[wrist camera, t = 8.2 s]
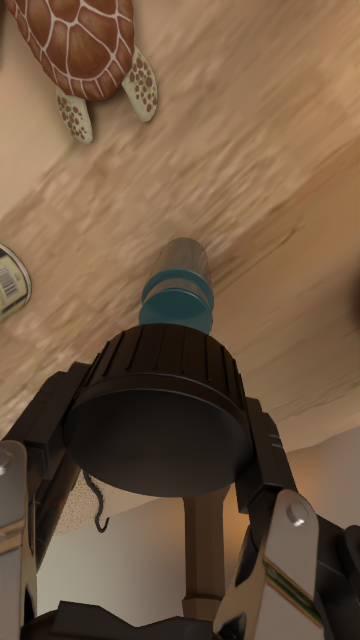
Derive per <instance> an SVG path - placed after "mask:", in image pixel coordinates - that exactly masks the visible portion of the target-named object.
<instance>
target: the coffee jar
mask: <svg viewBox="0 0 360 640" xmlns="http://www.w3.org/2000/svg"><path fill="white" fill-rule="evenodd" d="M213 308H214V296H213V289H212V282H211V276H210V269H209V262H208V256H207V253H206V251H205V249H204V248H203V247H202V246H201V245H200V244H199V243H198V242H197V241H195V240H192V239H189V238H177V239H174V240H172V241H170V242H169V243H167V244H166V245H165V246H164V248H163V249H162V251H161V253H160V255H159V257H158V259H157V261H156V263H155V266H154V268H153V270H152V272H151V274H150V276H149V278H148V280H147V283H146V285H145V287H144V289H143V292H142V307H141V310H140V313H139V324H140V325H143V324H150V323H172V324H179V325H184V326H188V327H191V328H194V329H197V330H199V331H201V332H204V333H206V334H207V335H209V333H210V331H211V328H212V323H213V320H212V311H213Z"/></svg>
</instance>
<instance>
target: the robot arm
mask: <svg viewBox="0 0 360 640" xmlns="http://www.w3.org/2000/svg"><path fill="white" fill-rule="evenodd" d="M90 367H91V365H90V364H85V363H80V362H74V363H73V364H72V366H71V367H70V369H69V370H68V372H67V373H66V372H61V371H58V372H57V373H55V374H54V375H52V376H51V377H49V378H48V379H47V380H46V382H45V383H44V384H43V386H42V387H41V388H40V391H38V392H37V394H36V395H35V397H34V398H33V400H32V401H31V402H30V403H29V405H28V406H27V407H26V409H25V410H24V412H23V413H22V414H21V416H20V417H19V418H18V420H17V421H16V422H15V424H14V425H13V427H12V428H11V429H10V431H9V432H8V433H7V435H6V436H5V437H4V438H3V439H2V440H1V441H0V640H360V605H359V604H360V526H357V525H352V526H349V527H348V528H346V529H345V530H344V529H342V528H340V527H339V526H337V525H335V524H333V523H331V522H329V521H328V520H326V519H324V518H322V517H321V516H319V515H317V514H316V513H315V511H314V510H313V508H312V506H311V505H310V503H309V502H308V501H307V500H306V499H305V498H304V497H303V496H302V495H301V494H299V492H298V490H297V488H296V485H295V482H294V479H293V476H292V472H291V470H290V467H289V463H288V461H287V457H286V454H285V451H284V449H283V445H282V442H281V439H280V438H279V437H280V436H279V433H278V430H277V427H276V424H275V423H274V421H273V420H272V418H271V417H270V416H269V414H268V413H263V411H262V408H261V405H260V402H259V400H258V399H255V398H250V397H246V402H247V407H248V411H249V416H250V421H251V425H249V428H250V433H251V438H252V443H253V457H252V461H251V464H250V466H249V468H248V469H247V470H246V472H245V473H244V474H243V475H242V476H241V477H240V478H239V479H238V480H237V481H235V487H236V495H237V502H238V510H239V513H243V514H249V520H250V524H249V526H248V528H247V531H246V534H245V537H244V540H243V544H242V547H241V550H240V554H239V557H238V560H237V563H236V567H235V570H234V573H233V577H232V580H231V583H230V586H229V588H228V590H227V592H226V594H225V596H224V598H223V600H222V602H221V604H220V607H219V609H218V612H217V615H216V618H215V621H214V624H213V621H210V620H202V619H195V618H187V617H180V616H175V617H172V618H168V619H165V620H162V621H158V622H155V623H152V624H148V625H145V626H141V627H134V626H132V625H130V624H128V623H127V622H125V621H124V620H122V619H120V618H119V617H117V616H115V615H113V614H112V613H110V612H109V611H107V610H105V609H104V608H102V607H100V606H98V605H89V604H83V603H75V602H68V601H60V603H59V606H58V609H57V610H53V611H49V612H47V613H45V614H43V615H40V616H38V617H37V577H36V574H37V573H38V571H39V568H40V566H41V564H42V561H43V559H44V556H45V553H46V551H47V548H48V545H49V543H50V541H51V538H52V536H53V533H54V531H55V528H56V526H57V523H58V521H59V518H60V516H61V513H62V511H63V508H64V506H65V503H66V501H67V498H68V496H69V493H70V491H72V490H73V488H74V486H75V484H76V481H77V478H78V476H79V473H80V471H81V468H80V467H79V466H78V465H77V464H76V463H75V462H74V461H73V460H72V458H71V457H70V456H69V455H68V453H67V451H66V449H65V447H64V444H63V435H62V427H63V423H64V420H65V418H66V416H67V414H68V412H69V410H70V409H71V407H72V405H73V403H74V401H75V400H73V398H74V396H75V395H76V393H77V391H78V389H79V387H80V385H81V384H82V382H83V380H84V378H85V376H86V375H87V373H88V371H89V369H90ZM82 470H83V469H82ZM83 474H84V478H85V480H86V482H87V484H88V486H89V487H90V488H91V489H92V490H93V492H94V493H95V494H96V495H97V497H98V500H99V512H98V514H97V516H96V518H95V523H96V526H97V529H98V531H99V532H100V533H103V532H104V531H105V530H106V528H107V525H108V522H109V518H110V517H108V518H107V519H106V522H105V526H104V528H103V529H101V527H100V525H99V521H98V519H99V517H100V515H101V513H102V509H103V500H102V497H101V494H100V492H99V491H98V490H97V488H96V487H95V486H94V485H93V483H92V482H91V481H90V479H89V476H88V473H87V472H85V471H84V470H83ZM357 599H358V600H357ZM358 602H359V603H358Z"/></svg>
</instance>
